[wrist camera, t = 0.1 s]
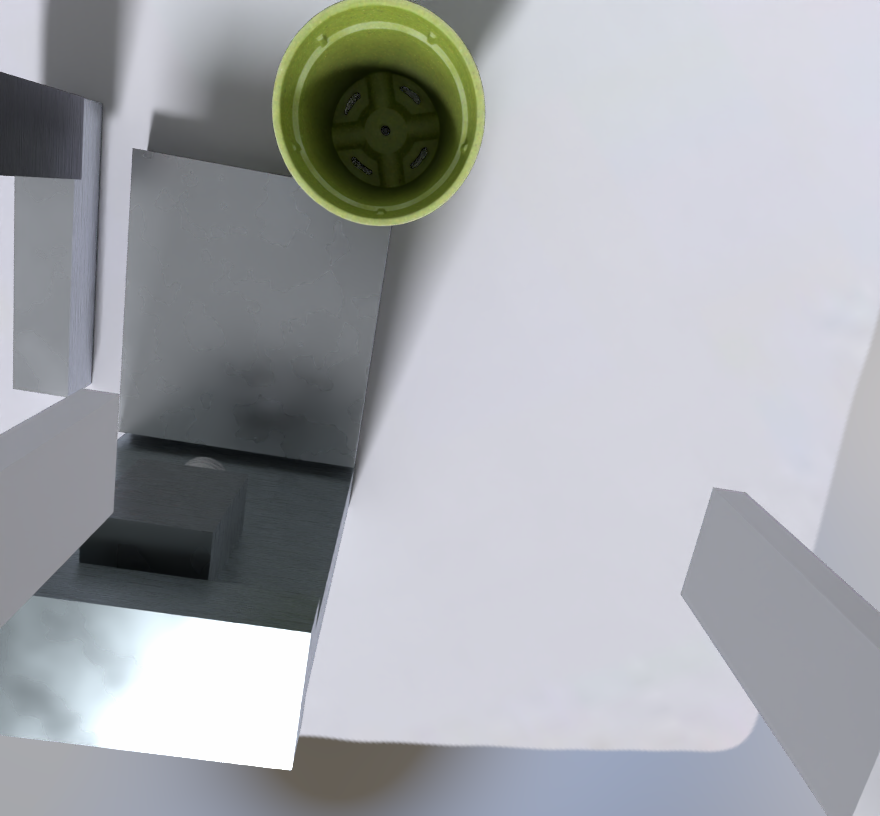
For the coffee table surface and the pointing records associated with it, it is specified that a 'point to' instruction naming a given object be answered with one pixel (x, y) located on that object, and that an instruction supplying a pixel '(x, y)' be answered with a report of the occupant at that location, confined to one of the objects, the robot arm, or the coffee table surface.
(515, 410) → the coffee table surface
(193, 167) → the frame
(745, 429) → the coffee table surface
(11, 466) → the robot arm
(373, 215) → the plant pot
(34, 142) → the lever
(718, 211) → the coffee table surface
